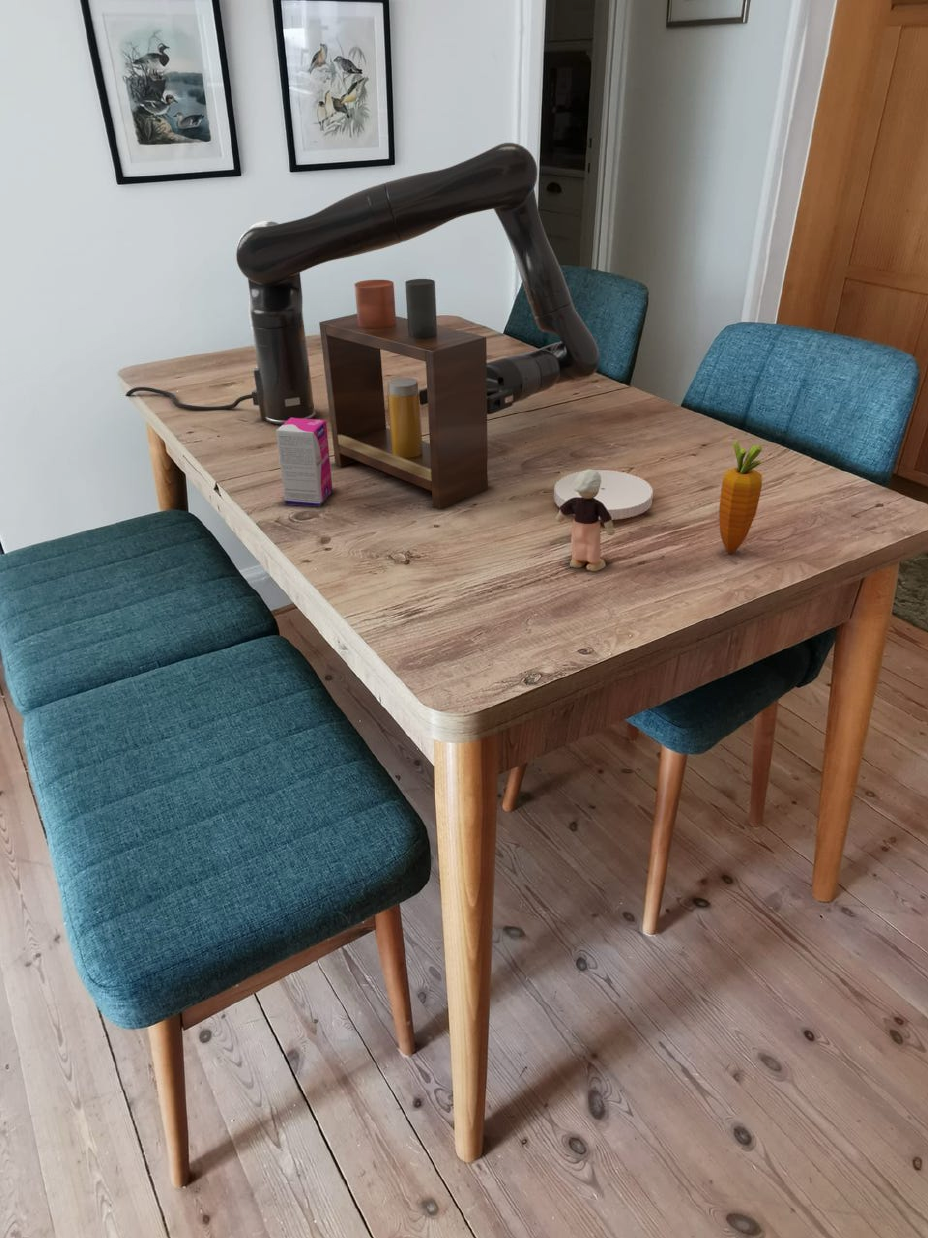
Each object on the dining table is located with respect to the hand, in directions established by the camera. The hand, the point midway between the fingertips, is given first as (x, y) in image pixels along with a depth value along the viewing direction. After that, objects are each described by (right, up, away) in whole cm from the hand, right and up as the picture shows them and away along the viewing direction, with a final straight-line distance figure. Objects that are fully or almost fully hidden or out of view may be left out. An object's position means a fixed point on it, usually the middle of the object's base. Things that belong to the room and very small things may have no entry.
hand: (437, 404), depth 130 cm
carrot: (+39, -25, -22) cm, 51 cm away
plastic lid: (+24, -17, -9) cm, 31 cm away
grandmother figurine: (+19, -27, -24) cm, 41 cm away
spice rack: (-5, -11, +2) cm, 12 cm away
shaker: (-5, -8, -1) cm, 9 cm away
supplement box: (-19, -15, -4) cm, 25 cm away
